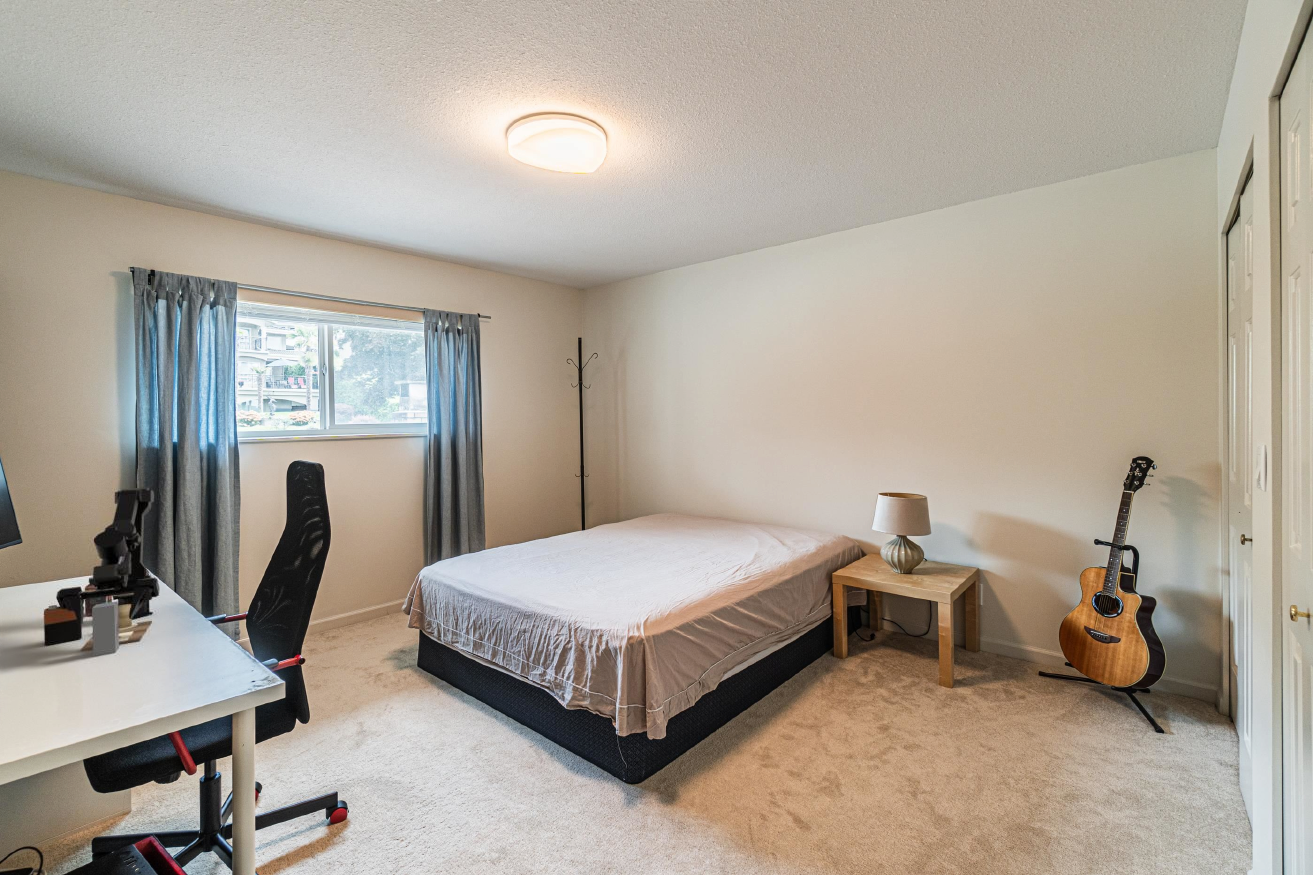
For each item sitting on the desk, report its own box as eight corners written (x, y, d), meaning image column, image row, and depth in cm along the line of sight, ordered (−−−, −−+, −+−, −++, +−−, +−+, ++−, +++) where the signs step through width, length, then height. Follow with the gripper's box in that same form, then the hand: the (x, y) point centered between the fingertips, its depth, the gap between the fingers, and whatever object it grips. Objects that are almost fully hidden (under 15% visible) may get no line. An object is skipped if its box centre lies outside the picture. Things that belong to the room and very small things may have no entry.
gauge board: (99, 630, 158) (99, 607, 158) (152, 622, 164) (151, 599, 164) (81, 650, 143) (80, 624, 142) (139, 641, 149) (138, 616, 149)
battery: (82, 639, 151) (80, 602, 151) (44, 646, 146) (43, 608, 146) (81, 635, 154) (80, 599, 154) (44, 642, 149) (43, 605, 149)
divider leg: (97, 651, 142) (96, 604, 142) (119, 647, 144) (117, 601, 144) (93, 656, 139) (92, 608, 139) (115, 652, 141) (114, 605, 141)
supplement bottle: (115, 612, 175) (114, 575, 175) (88, 617, 170) (87, 580, 170) (108, 609, 178) (107, 573, 178) (82, 614, 173) (81, 577, 173)
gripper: (57, 557, 140) (43, 611, 131) (156, 547, 151) (150, 597, 142) (67, 582, 147) (55, 636, 138) (162, 571, 157) (156, 620, 148)
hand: (105, 621), depth 141 cm, fingers open, 9 cm apart
